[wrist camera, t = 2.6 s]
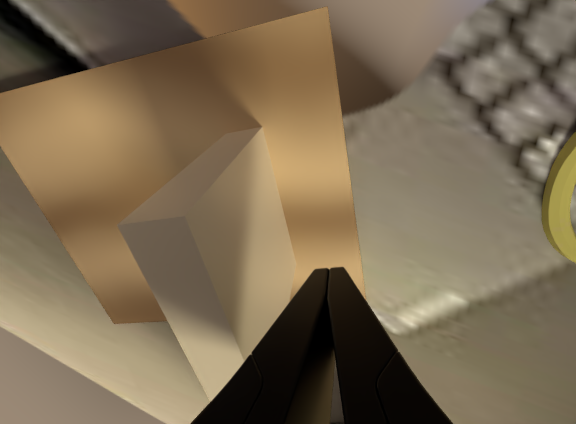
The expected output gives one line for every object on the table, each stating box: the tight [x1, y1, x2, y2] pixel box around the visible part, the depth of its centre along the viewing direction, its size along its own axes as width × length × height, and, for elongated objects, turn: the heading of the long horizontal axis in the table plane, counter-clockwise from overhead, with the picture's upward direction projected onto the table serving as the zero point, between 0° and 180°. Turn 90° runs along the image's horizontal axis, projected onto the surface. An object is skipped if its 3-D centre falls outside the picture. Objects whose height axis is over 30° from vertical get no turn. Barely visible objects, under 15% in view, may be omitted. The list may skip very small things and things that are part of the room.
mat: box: [0, 7, 366, 324], centre depth 16 cm, size 14×16×1 cm
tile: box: [117, 127, 296, 402], centre depth 11 cm, size 7×2×8 cm, turn 12°
